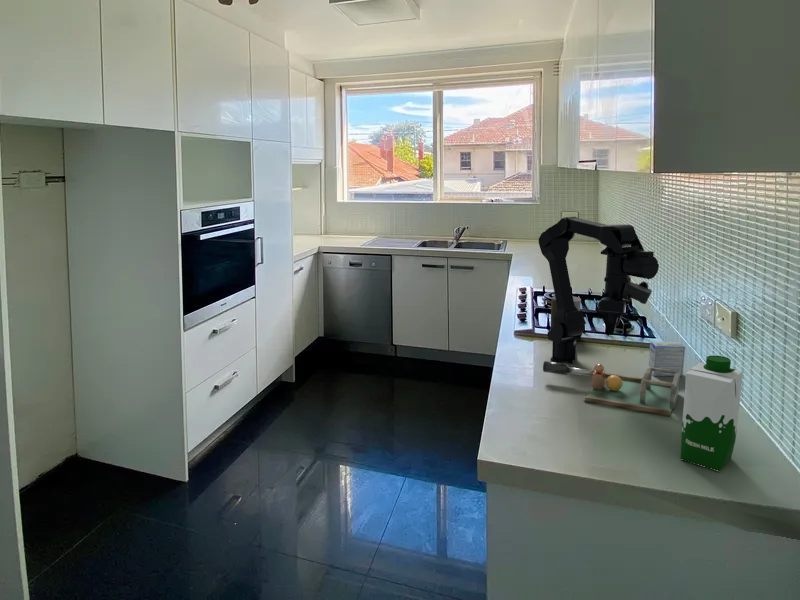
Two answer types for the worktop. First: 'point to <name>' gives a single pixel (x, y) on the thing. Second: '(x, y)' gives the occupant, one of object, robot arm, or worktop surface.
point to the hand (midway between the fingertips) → (613, 330)
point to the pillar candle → (554, 308)
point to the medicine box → (666, 357)
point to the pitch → (640, 393)
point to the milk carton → (710, 412)
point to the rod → (578, 372)
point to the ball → (614, 383)
